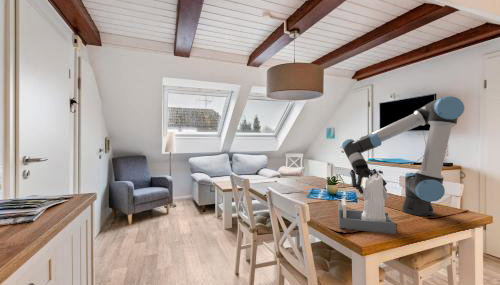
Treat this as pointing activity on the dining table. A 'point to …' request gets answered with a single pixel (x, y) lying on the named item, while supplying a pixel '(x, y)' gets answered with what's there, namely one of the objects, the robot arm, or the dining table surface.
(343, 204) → the plate
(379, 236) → the dining table surface
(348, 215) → the grey tray
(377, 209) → the decorative vase
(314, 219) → the dining table surface
